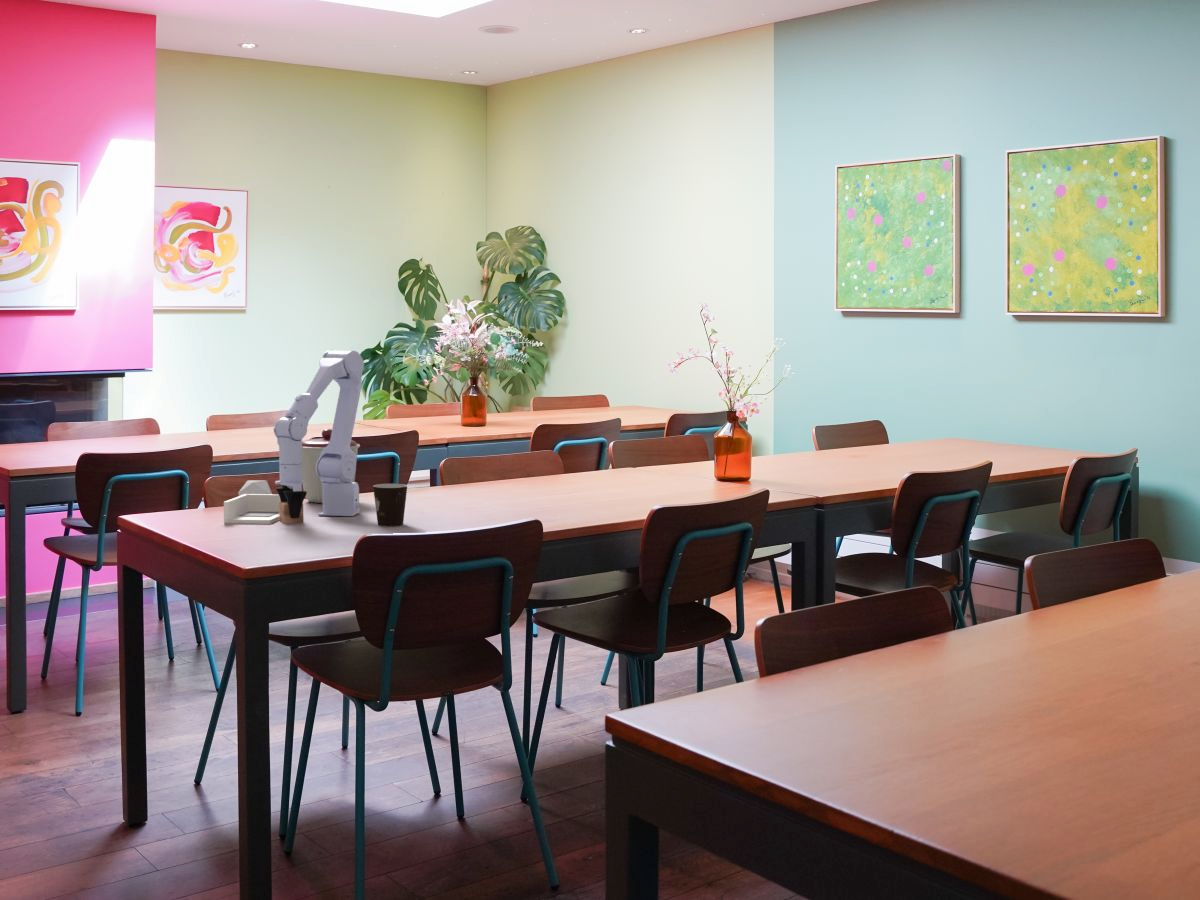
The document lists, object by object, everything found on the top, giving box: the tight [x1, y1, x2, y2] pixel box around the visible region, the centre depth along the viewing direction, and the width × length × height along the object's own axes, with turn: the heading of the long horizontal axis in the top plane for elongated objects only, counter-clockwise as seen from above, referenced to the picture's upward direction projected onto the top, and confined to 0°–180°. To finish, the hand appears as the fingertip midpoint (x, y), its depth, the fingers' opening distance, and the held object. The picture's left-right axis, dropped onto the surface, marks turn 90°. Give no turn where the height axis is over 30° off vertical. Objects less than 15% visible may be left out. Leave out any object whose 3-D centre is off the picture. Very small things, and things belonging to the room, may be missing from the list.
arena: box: [223, 493, 281, 525], centre depth 328 cm, size 12×16×6 cm
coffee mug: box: [372, 483, 408, 527], centre depth 319 cm, size 12×9×10 cm
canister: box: [302, 428, 361, 504], centre depth 362 cm, size 18×18×21 cm
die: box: [237, 479, 273, 496], centre depth 345 cm, size 8×9×10 cm
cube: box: [279, 502, 305, 524], centre depth 324 cm, size 5×5×5 cm
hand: (291, 516), depth 324 cm, fingers open, 7 cm apart
